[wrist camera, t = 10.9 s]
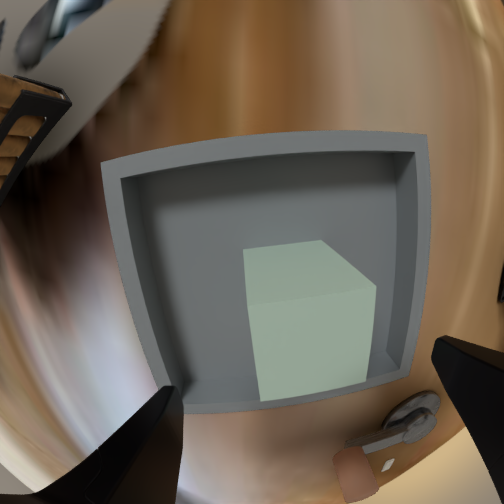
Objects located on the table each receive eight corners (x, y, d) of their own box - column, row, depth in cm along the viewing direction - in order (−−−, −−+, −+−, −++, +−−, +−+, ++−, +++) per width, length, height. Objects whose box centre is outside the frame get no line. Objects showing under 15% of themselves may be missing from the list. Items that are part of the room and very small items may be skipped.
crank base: (444, 382, 21) (447, 386, 20) (406, 460, 26) (408, 464, 25) (388, 403, 21) (391, 408, 20) (361, 477, 25) (363, 481, 25)
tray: (399, 138, 15) (426, 134, 12) (391, 353, 19) (408, 375, 16) (123, 163, 15) (100, 162, 12) (175, 386, 19) (169, 413, 16)
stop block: (321, 239, 16) (376, 286, 9) (323, 309, 17) (365, 381, 10) (242, 249, 16) (247, 305, 9) (251, 320, 17) (260, 401, 10)
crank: (434, 402, 20) (463, 443, 14) (424, 425, 21) (448, 464, 15) (330, 437, 20) (348, 492, 14) (327, 457, 21) (342, 507, 15)
